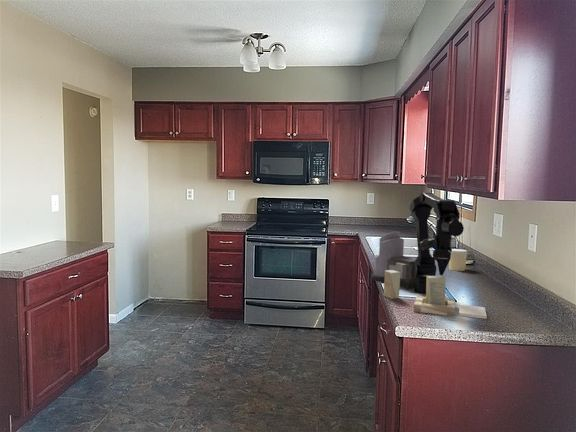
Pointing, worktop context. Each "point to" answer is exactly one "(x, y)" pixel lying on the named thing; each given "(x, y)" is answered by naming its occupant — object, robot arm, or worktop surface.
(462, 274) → the worktop surface
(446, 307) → the frame
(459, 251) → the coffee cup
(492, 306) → the worktop surface
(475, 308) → the tile
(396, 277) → the box
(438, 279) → the skincare box
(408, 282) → the juicer
